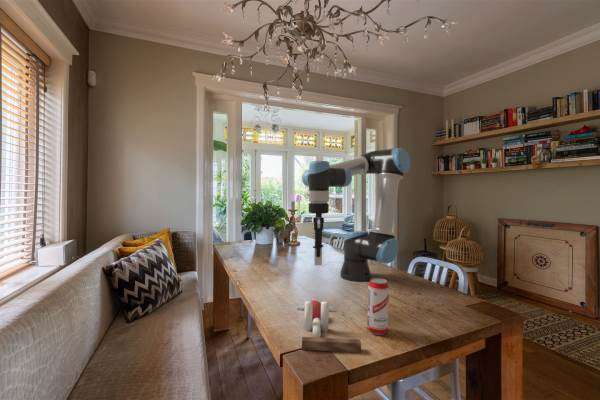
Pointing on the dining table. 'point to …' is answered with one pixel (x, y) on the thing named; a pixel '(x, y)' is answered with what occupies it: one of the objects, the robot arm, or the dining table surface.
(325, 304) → the pin back right
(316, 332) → the pin front
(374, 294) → the beer can
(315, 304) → the ball
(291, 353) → the dining table surface
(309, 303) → the pin back left
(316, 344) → the back wall
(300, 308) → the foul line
